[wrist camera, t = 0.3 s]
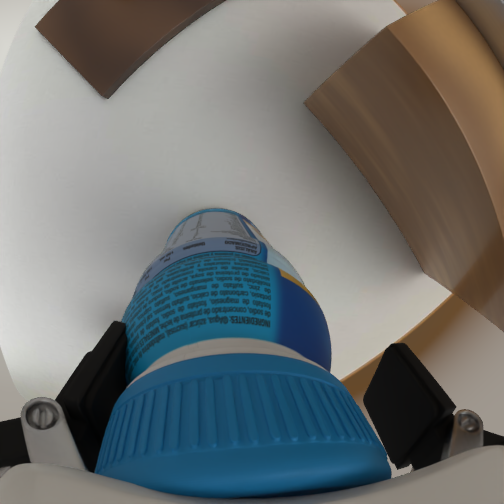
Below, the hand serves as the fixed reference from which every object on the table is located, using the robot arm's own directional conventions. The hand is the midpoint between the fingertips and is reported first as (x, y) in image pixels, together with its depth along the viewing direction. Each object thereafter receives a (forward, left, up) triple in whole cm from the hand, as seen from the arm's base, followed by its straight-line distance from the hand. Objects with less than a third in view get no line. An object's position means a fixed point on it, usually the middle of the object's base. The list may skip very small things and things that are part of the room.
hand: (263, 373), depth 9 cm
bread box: (-17, +4, -14) cm, 23 cm away
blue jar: (+2, -2, -14) cm, 14 cm away
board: (-12, -26, -14) cm, 32 cm away
